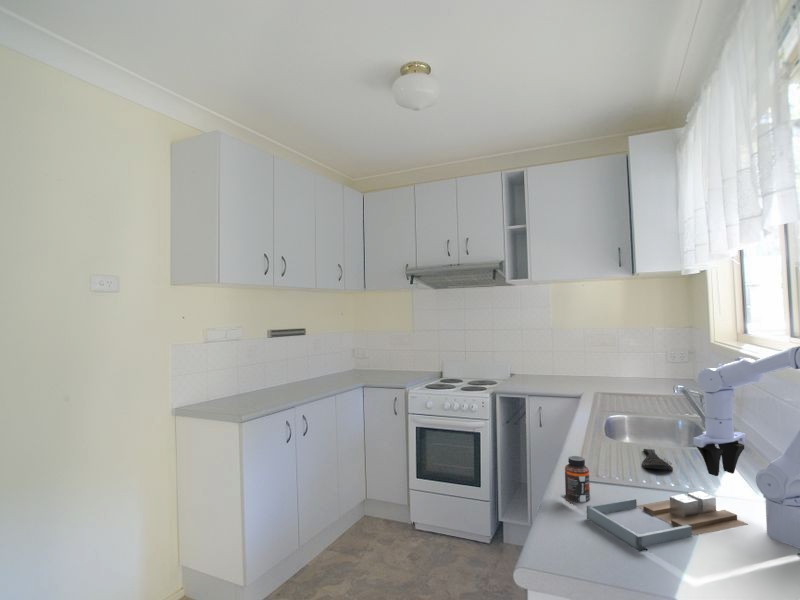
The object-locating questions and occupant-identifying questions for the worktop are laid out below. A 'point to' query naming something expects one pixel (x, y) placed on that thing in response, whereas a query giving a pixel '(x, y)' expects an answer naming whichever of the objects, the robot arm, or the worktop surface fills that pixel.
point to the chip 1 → (683, 506)
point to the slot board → (694, 518)
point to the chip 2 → (704, 502)
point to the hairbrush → (655, 461)
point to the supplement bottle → (577, 480)
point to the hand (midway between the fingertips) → (721, 473)
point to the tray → (627, 535)
